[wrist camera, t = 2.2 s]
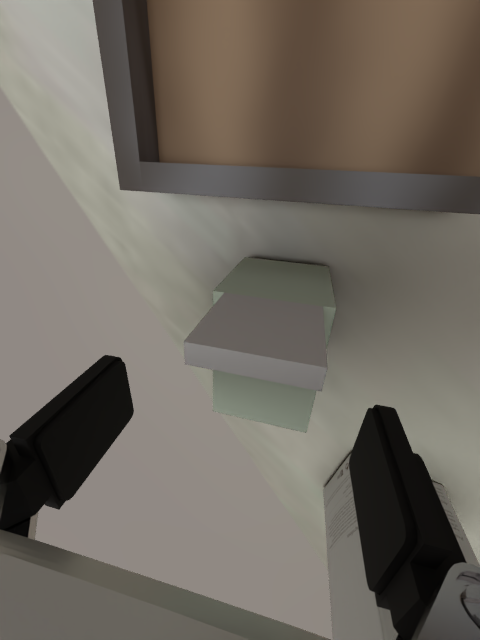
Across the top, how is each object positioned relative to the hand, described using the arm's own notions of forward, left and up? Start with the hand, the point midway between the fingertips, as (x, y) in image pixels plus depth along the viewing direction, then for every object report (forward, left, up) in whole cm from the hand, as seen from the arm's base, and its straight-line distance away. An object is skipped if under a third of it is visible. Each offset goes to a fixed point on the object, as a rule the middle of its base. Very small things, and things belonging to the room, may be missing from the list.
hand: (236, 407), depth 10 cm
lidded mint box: (-1, 0, -10) cm, 10 cm away
